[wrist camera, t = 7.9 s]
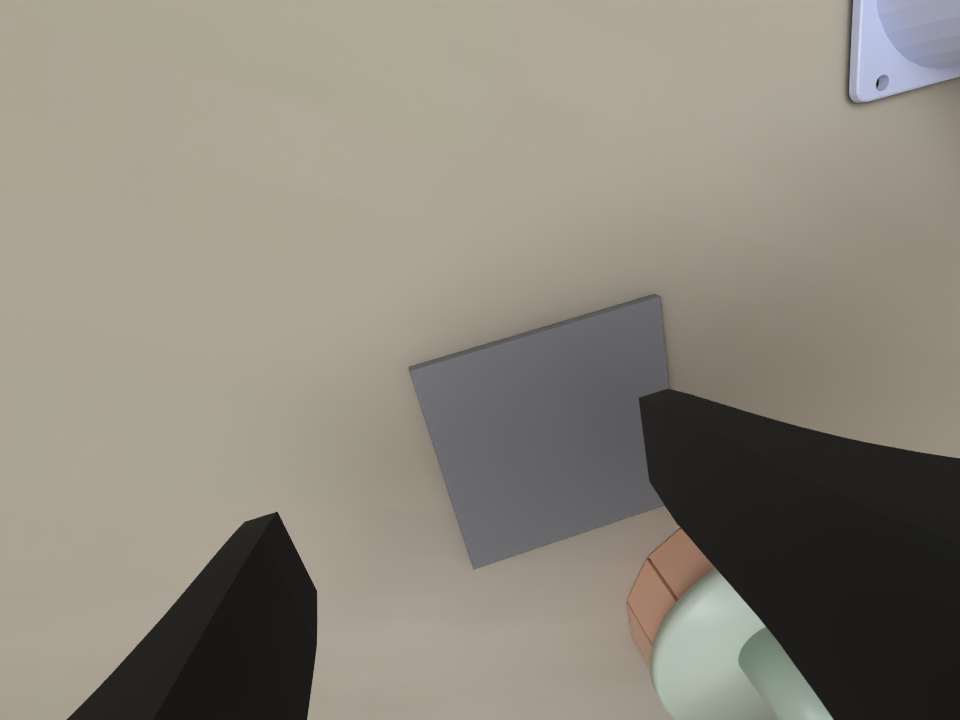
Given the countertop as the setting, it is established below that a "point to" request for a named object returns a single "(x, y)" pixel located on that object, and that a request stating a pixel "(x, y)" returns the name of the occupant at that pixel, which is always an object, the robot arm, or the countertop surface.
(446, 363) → the mat
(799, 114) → the countertop surface
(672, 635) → the lid
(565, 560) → the countertop surface
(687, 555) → the bowl
